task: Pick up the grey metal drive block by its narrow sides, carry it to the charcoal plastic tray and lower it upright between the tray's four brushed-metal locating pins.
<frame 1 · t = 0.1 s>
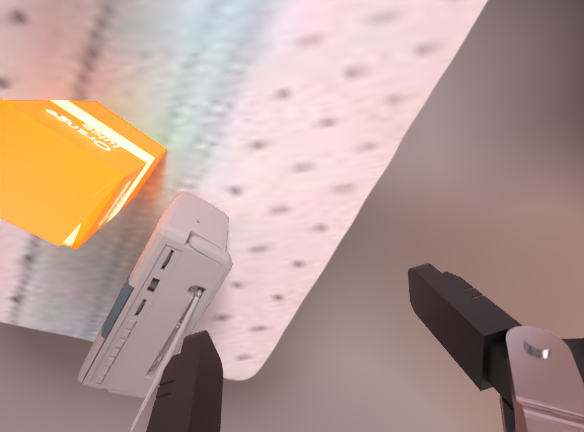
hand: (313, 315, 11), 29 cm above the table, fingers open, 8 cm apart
orange juice: (118, 151, 34), on the table
stereo radio cassette player: (176, 259, 41), on the table
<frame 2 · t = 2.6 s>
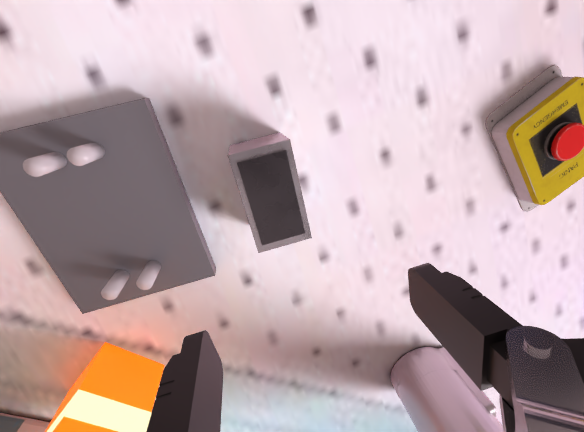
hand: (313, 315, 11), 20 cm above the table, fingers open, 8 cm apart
orange juice: (118, 376, 35), on the table
pin tray: (116, 212, 28), on the table
drive: (266, 181, 30), on the table
emergency button: (533, 144, 34), on the table
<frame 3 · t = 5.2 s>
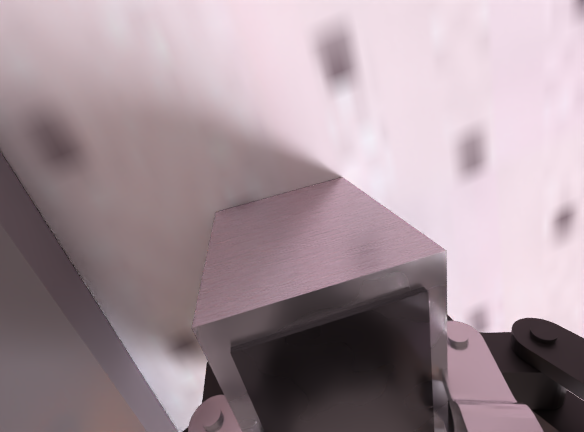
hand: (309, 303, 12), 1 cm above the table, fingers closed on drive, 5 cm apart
drive: (304, 288, 13), on the table, touching gripper
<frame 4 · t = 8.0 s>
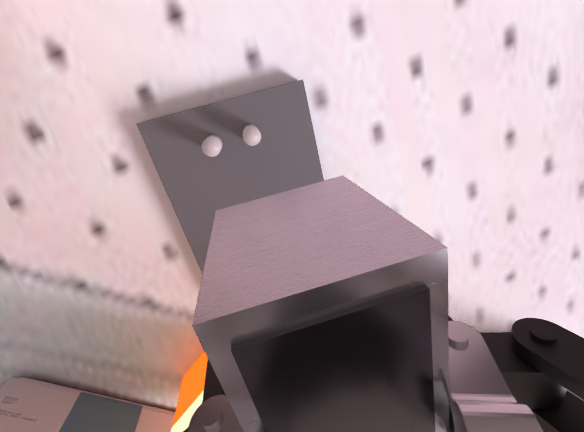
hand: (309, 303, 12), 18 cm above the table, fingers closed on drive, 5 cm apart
orange juice: (229, 363, 36), on the table
pin tray: (252, 196, 28), on the table
drive: (304, 286, 13), point 17 cm above the table, touching gripper
stereo radio cassette player: (105, 408, 35), on the table
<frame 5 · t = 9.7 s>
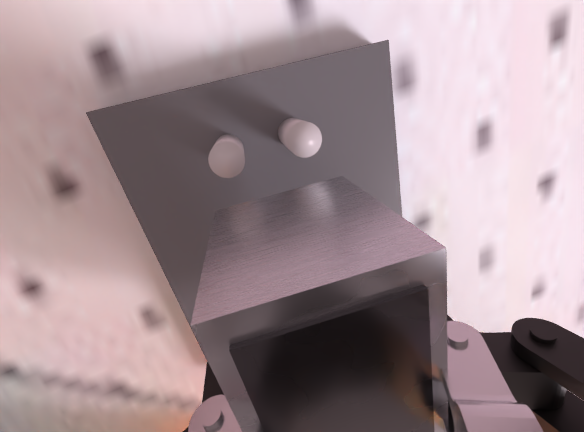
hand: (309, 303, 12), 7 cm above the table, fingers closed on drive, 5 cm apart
pin tray: (284, 233, 18), on the table
drive: (304, 287, 13), point 6 cm above the table, touching gripper
when the fingers open (3 cm above the table, at t = 11.2 s): drive stays where it is, resting on pin tray.
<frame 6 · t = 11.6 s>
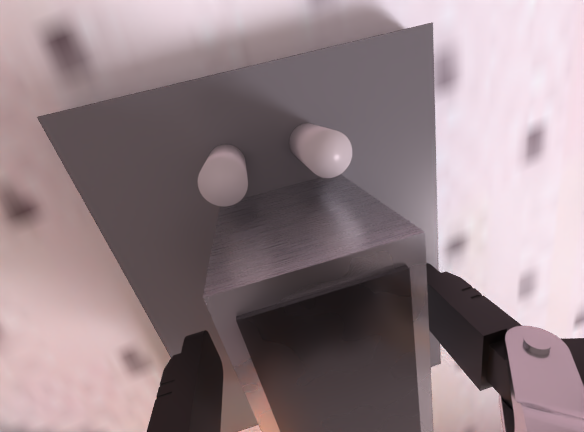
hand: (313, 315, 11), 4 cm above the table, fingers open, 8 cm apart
pin tray: (294, 261, 15), on the table
drive: (302, 277, 13), point 1 cm above the table, touching pin tray
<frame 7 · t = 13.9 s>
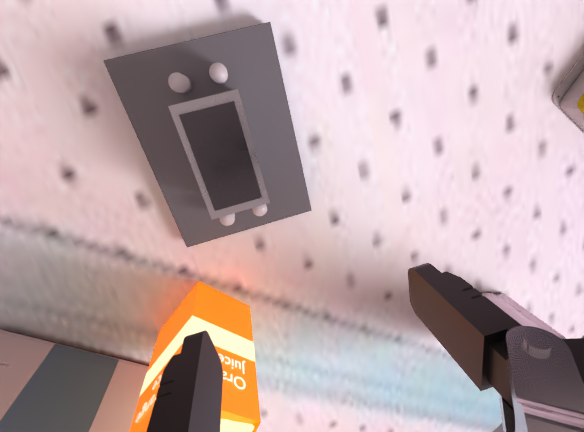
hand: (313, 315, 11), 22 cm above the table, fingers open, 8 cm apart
orange juice: (205, 317, 36), on the table
pin tray: (224, 145, 29), on the table
drive: (225, 147, 27), point 1 cm above the table, touching pin tray
stereo radio cassette player: (82, 363, 35), on the table
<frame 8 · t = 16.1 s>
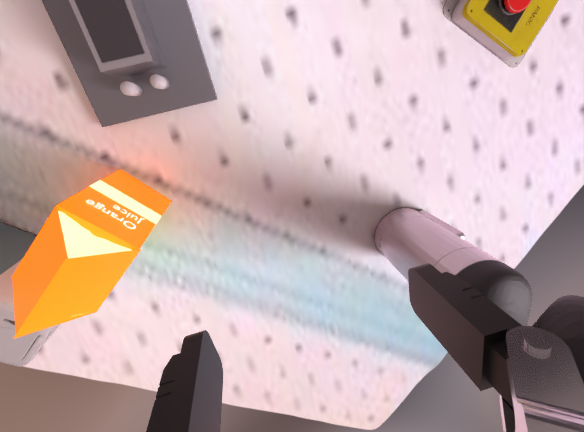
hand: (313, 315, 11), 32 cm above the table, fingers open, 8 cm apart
orange juice: (131, 209, 40), on the table
pin tray: (131, 30, 33), on the table
drive: (128, 27, 31), point 1 cm above the table, touching pin tray
stereo radio cassette player: (18, 246, 39), on the table
emergency button: (495, 9, 39), on the table
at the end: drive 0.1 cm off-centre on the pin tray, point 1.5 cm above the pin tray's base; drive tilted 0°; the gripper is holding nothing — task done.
